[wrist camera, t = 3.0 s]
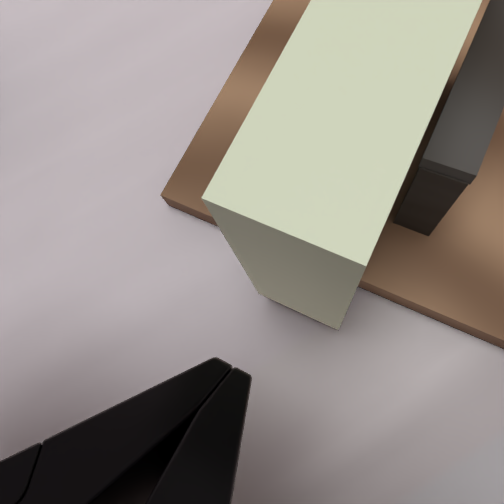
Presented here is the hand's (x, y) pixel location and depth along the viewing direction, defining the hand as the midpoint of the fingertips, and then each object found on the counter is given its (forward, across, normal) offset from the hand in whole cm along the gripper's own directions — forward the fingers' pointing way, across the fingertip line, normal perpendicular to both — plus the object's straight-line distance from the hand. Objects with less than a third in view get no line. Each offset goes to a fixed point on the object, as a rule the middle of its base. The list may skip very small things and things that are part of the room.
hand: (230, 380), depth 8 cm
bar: (+10, 0, -1) cm, 10 cm away
